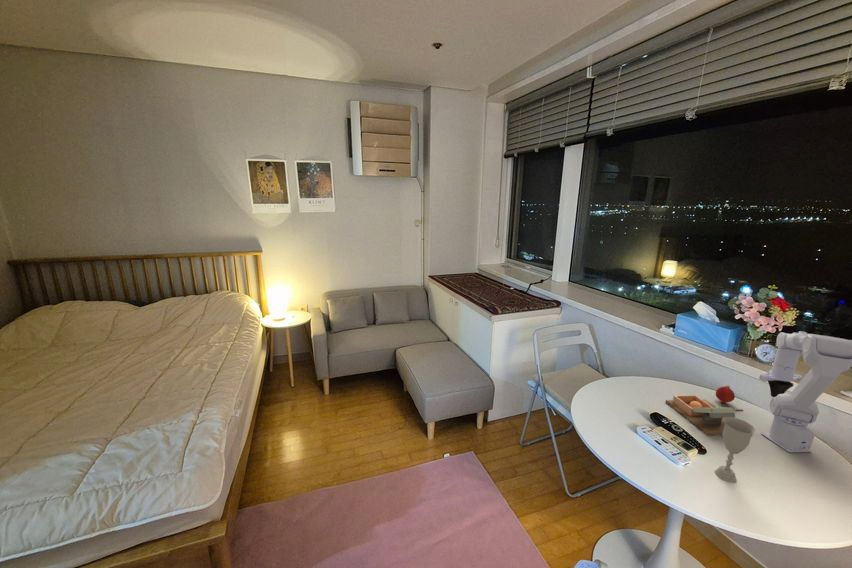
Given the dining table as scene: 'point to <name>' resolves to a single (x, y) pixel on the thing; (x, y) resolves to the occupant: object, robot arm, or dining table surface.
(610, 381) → the dining table surface
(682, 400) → the orange open box
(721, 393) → the onion
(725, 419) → the chalice
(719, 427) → the base board
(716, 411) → the tipping tray
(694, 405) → the ball
